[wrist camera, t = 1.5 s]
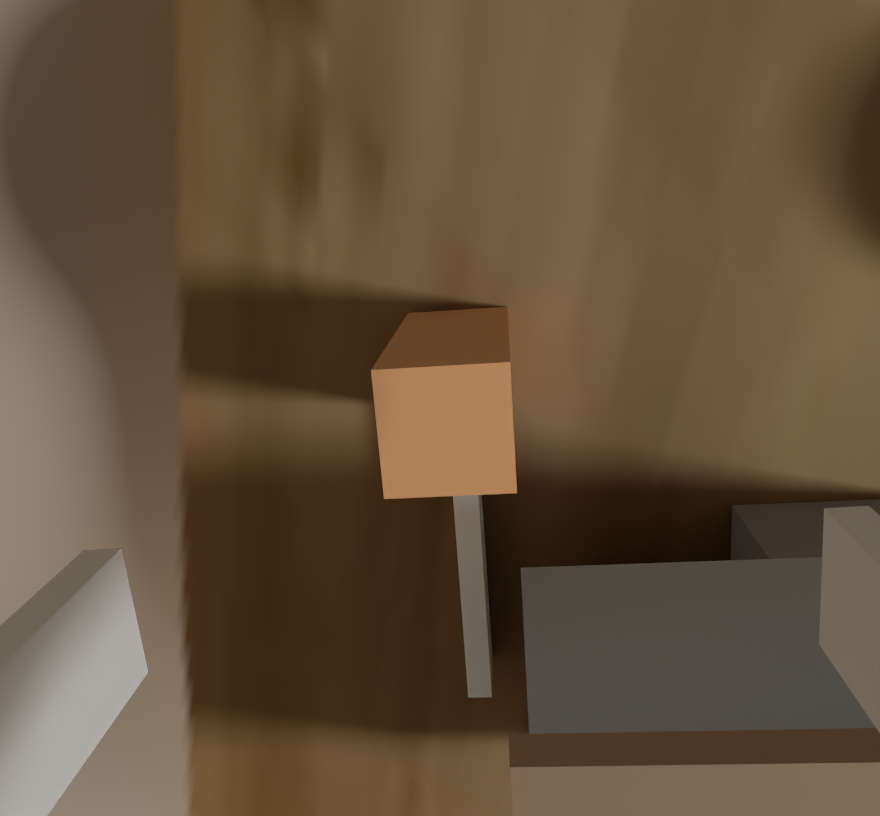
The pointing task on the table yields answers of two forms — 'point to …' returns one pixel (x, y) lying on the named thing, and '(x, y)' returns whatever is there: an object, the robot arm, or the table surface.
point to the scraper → (451, 441)
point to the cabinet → (693, 685)
